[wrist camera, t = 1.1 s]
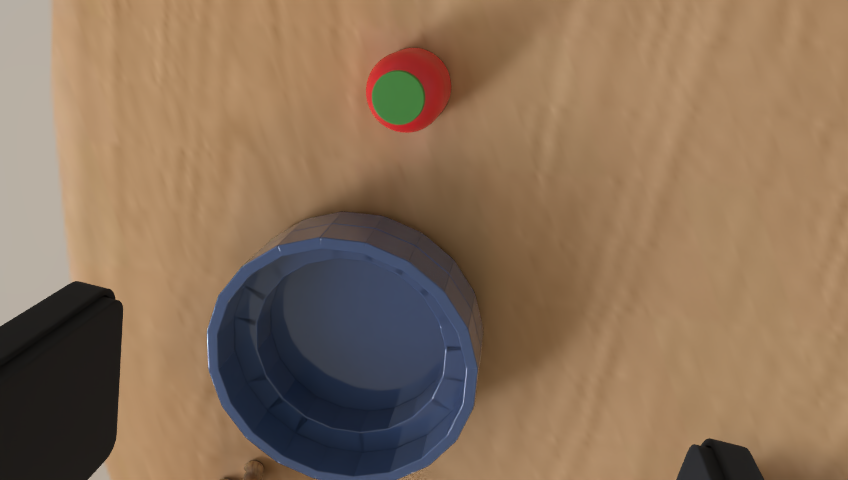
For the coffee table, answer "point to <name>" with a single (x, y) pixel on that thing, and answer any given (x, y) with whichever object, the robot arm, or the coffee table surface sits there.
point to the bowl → (348, 348)
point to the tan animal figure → (253, 471)
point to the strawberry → (408, 89)
